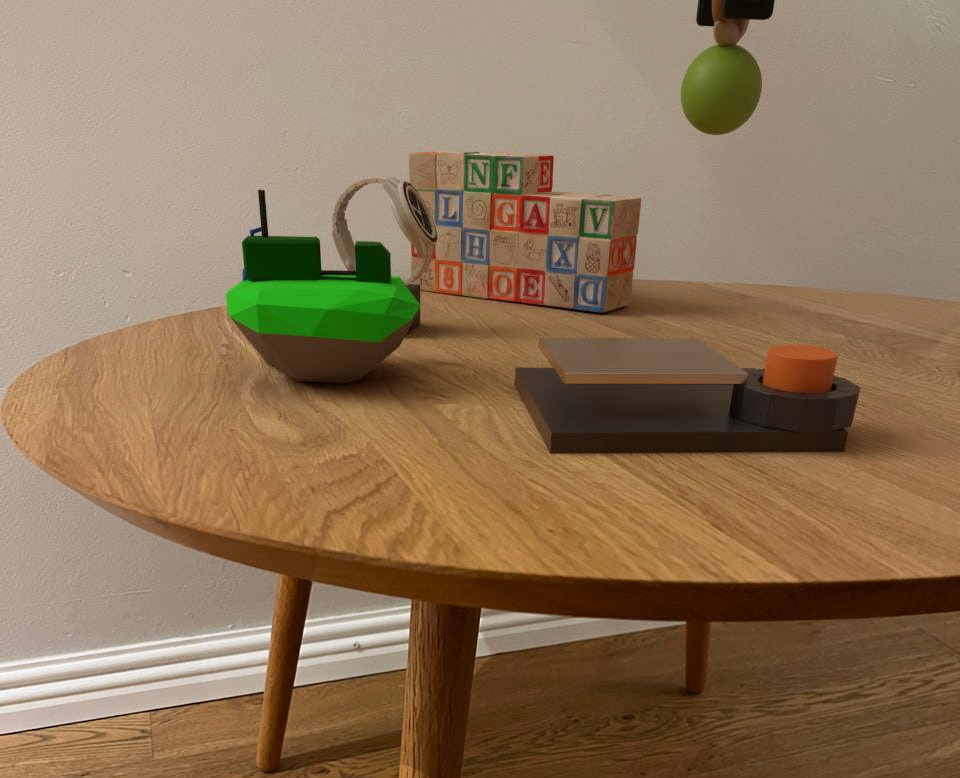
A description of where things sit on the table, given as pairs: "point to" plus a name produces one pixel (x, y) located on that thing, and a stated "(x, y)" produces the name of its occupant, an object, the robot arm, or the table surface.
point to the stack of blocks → (523, 232)
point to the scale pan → (639, 361)
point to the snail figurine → (722, 80)
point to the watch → (409, 218)
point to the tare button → (800, 368)
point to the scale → (685, 416)
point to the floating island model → (318, 307)
